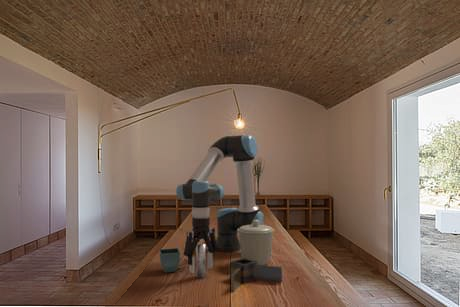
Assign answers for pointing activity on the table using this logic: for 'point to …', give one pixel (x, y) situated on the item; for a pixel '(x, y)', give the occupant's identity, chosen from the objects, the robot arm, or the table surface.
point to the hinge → (252, 272)
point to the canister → (256, 242)
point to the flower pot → (169, 259)
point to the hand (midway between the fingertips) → (201, 269)
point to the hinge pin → (201, 260)
